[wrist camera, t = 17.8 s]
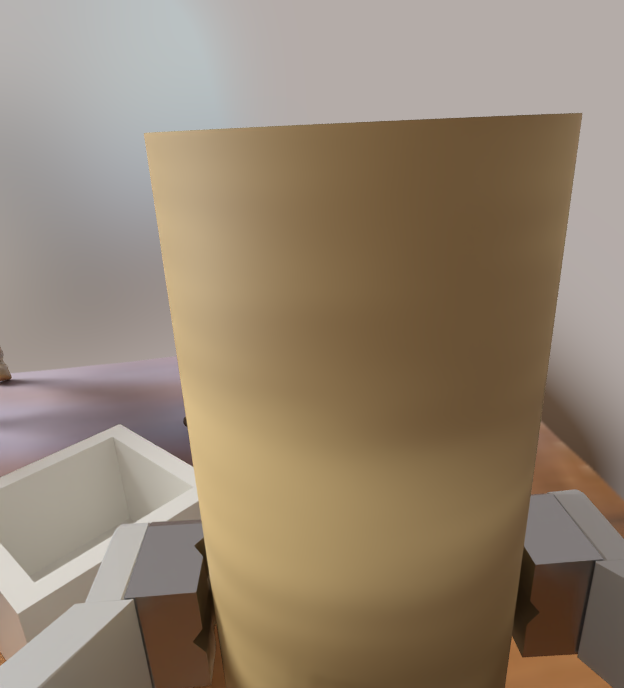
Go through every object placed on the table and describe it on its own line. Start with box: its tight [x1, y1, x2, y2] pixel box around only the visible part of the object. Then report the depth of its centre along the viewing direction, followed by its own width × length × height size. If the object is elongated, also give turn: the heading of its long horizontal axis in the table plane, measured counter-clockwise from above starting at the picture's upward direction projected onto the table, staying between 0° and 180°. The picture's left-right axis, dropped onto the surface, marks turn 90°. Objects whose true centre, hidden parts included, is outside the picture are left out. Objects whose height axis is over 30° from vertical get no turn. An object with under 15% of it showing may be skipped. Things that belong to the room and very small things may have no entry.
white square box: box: [0, 424, 201, 661], centre depth 23 cm, size 8×8×6 cm
